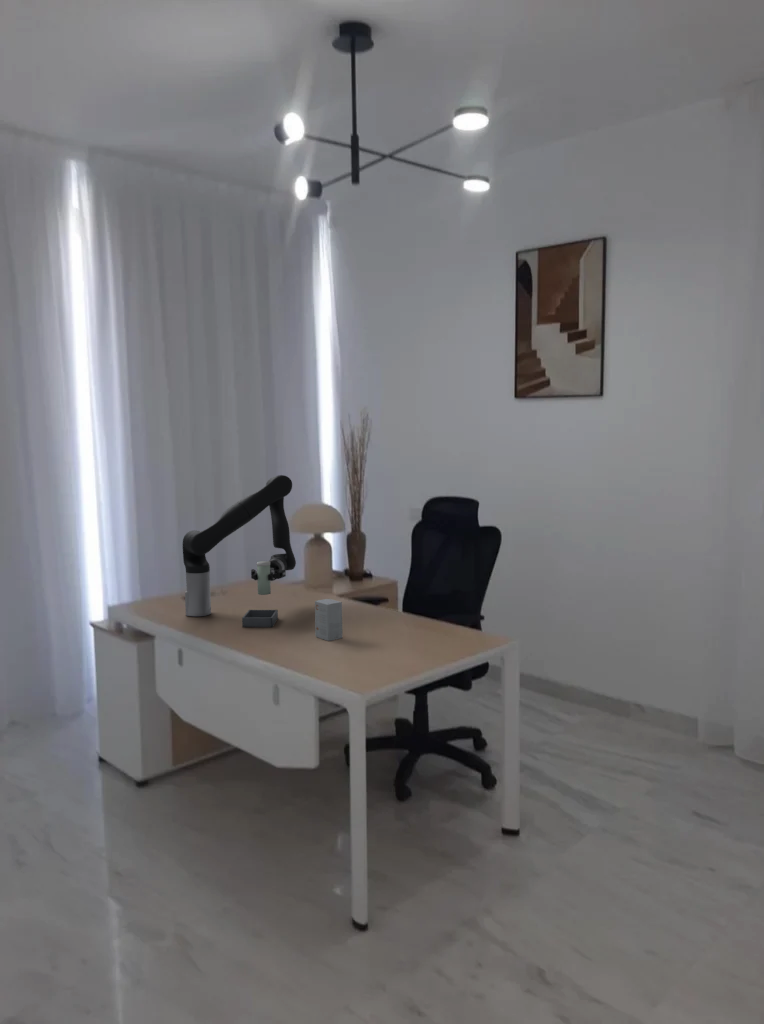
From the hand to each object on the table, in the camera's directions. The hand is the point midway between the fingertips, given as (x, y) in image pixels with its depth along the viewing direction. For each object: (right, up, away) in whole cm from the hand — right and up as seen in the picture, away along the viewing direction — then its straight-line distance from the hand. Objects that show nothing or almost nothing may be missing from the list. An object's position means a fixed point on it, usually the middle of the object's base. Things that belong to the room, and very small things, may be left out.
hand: (262, 577), depth 301 cm
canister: (0, -6, +3) cm, 7 cm away
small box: (+26, -20, -17) cm, 37 cm away
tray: (-1, -18, +5) cm, 18 cm away
